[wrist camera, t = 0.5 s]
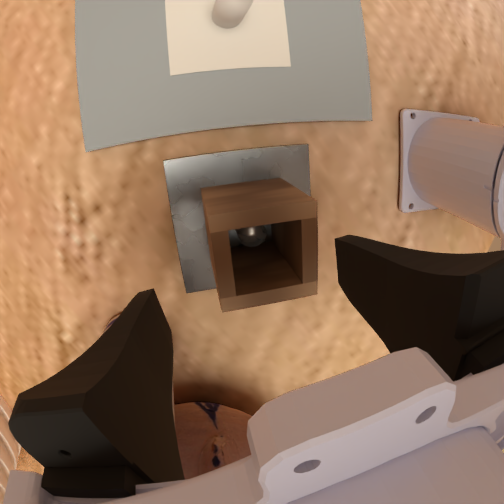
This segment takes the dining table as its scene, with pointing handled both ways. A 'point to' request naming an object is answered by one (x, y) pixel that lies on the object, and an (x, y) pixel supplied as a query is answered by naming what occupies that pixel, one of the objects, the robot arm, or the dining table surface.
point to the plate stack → (6, 448)
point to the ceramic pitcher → (209, 436)
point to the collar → (268, 253)
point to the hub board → (216, 65)
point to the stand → (220, 173)
